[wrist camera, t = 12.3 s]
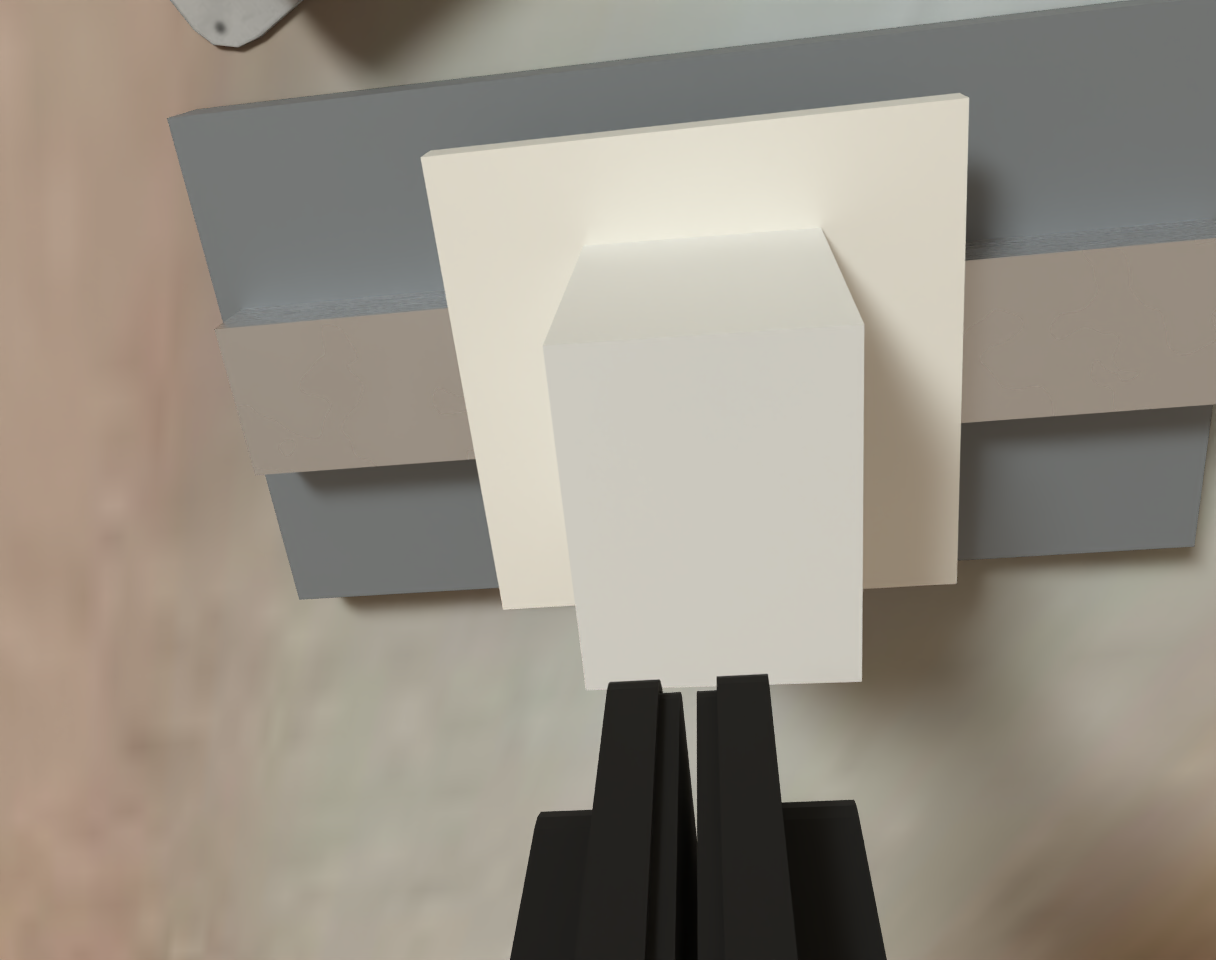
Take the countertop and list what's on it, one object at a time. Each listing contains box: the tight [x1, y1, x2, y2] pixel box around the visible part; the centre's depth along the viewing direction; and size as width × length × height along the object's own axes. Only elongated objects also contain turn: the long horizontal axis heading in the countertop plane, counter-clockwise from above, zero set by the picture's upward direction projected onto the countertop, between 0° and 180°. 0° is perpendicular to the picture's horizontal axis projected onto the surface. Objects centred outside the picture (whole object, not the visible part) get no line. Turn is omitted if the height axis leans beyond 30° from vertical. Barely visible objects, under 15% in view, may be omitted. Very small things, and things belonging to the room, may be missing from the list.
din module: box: [543, 228, 864, 690], centre depth 19 cm, size 4×6×6 cm
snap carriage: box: [420, 93, 969, 609], centre depth 23 cm, size 10×11×2 cm
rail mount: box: [167, 0, 1216, 600], centre depth 24 cm, size 22×12×3 cm, turn 97°
